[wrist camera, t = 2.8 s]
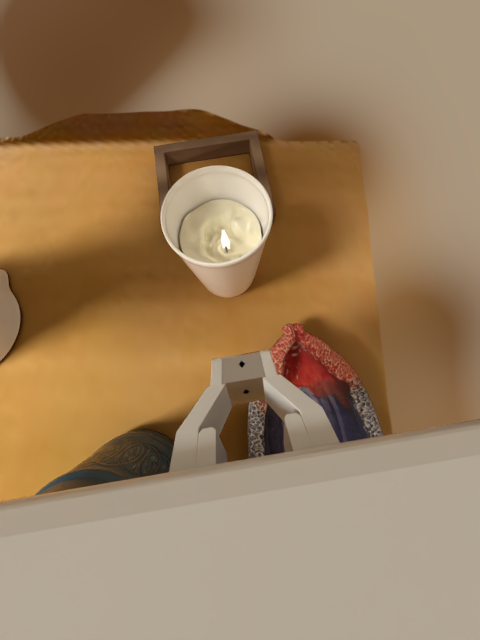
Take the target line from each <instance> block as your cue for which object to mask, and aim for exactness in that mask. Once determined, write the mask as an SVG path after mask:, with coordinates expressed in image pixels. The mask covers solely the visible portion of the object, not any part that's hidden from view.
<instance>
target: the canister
mask: <svg viewBox="0 0 480 640" xmlns="http://www.w3.org/2000/svg"><path fill="white" fill-rule="evenodd" d="M173 448H174V442H173V441H171V440H170V439H169V438H168V437H166V436H165V435H163V434H161V433H158V432H155V431H151V430H136V431H132V432H129V433H126V434H123V435H120V436H118V437H116V438H114V439H112V440H111V441H109V442H108V443H106V444H105V445H103V446H102V447H100V448H99V449H98V450H97V451H96V452H95V453H94V454H93V455H92V456H90V457H89V458H87V459H86V460H85V461H83V462H82V463H80V464H79V465H78V466H76V467H75V468H73V469H72V470H71V471H69V472H68V473H66V474H64V475H62V476H60V477H58V478H56V479H54V480H53V481H51V482H50V483H48V484H47V485H46V486H44V487H43V488H42V489H41V490H40V491H38V492H37V493H36V494H35V495H41V494H46V493H52V492H58V491H64V490H70V489H75V488H81V487H87V486H93V485H99V484H104V483H110V482H116V481H122V480H128V479H133V478H139V477H145V476H151V475H157V474H162V473H168V472H169V469H170V464H171V458H172V453H173ZM35 495H34V496H35Z"/></svg>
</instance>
